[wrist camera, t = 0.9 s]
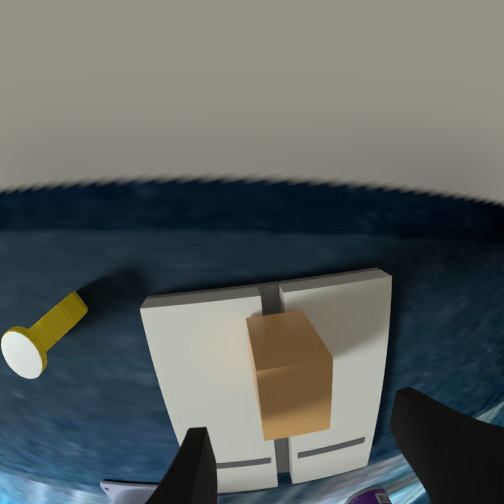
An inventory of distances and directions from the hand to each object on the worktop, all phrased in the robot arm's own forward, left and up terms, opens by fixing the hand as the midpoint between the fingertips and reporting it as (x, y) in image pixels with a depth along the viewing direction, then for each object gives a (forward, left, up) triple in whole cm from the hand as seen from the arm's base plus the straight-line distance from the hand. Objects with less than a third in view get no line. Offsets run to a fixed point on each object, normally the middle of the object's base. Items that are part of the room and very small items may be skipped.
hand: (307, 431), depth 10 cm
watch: (+2, +13, -9) cm, 16 cm away
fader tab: (0, 0, -9) cm, 9 cm away
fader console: (-6, 0, -9) cm, 11 cm away
